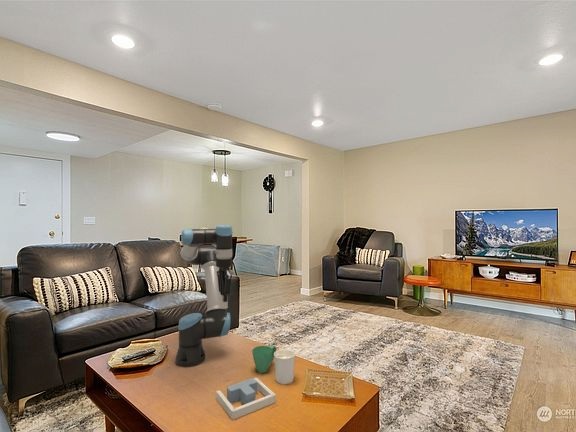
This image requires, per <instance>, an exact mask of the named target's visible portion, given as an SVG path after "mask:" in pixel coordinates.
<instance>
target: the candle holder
mask: <svg viewBox="0 0 576 432" xmlns="http://www.w3.org/2000/svg"><path fill="white" fill-rule="evenodd" d="M295 359H296V353H295V351H294V350H292V349H288V348H282V349H278V350H277V349H276V352H275V353H274V359H273V361H274V374H275V375H274V376H275V377H274V378H275V381H276V382H277V383H278V384H280V385H289V384H291V383H293V381H294V379H295V378H294V376H295V362H296V360H295Z"/></svg>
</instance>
